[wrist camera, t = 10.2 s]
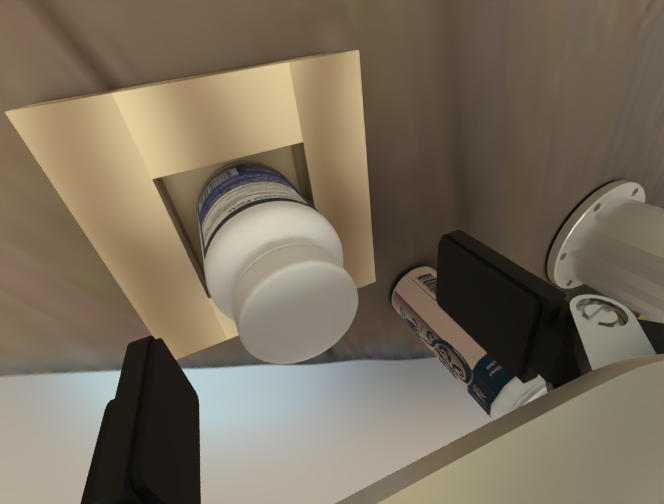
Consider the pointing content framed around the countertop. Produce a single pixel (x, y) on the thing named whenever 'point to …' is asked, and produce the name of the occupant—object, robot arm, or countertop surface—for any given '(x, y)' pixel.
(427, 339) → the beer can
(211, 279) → the pill bottle
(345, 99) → the socket block
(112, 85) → the countertop surface
